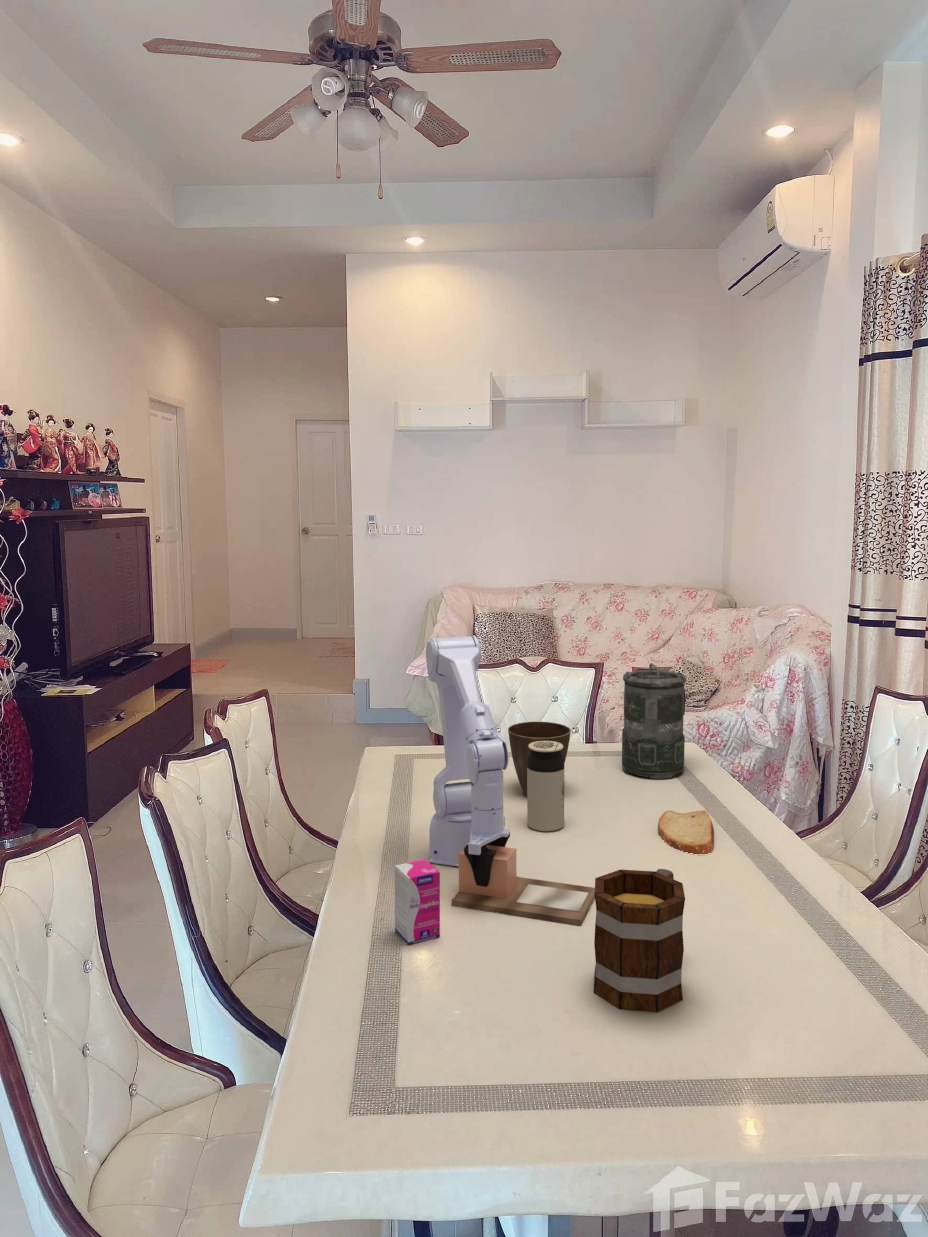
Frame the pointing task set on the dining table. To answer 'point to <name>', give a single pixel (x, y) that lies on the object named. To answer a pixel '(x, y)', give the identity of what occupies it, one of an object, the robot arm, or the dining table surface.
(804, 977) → the dining table surface
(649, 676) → the canister
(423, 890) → the supplement box
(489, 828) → the robot arm
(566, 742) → the plant pot
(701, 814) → the slice of bread
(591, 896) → the walnut board
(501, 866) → the terracotta cover
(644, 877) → the mug
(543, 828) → the travel mug
